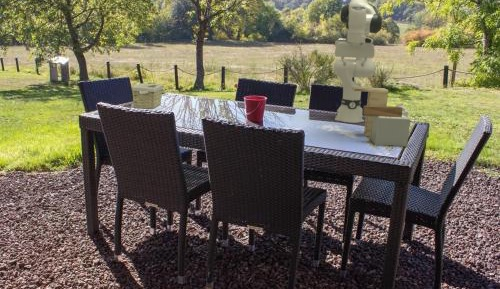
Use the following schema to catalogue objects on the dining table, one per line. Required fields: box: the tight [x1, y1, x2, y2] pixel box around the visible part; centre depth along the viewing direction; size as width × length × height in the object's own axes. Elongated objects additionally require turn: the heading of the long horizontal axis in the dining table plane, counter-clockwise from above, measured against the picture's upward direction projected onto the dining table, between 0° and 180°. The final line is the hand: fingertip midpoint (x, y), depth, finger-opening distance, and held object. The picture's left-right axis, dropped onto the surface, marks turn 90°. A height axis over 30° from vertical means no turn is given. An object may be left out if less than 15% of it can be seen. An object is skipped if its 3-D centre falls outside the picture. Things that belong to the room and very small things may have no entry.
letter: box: [378, 115, 409, 119], centre depth 240 cm, size 11×14×1 cm
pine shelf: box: [352, 86, 389, 138], centre depth 257 cm, size 9×18×26 cm, turn 87°
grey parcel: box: [370, 116, 411, 147], centre depth 242 cm, size 12×16×14 cm
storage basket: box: [131, 82, 163, 109], centre depth 322 cm, size 24×16×15 cm
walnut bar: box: [362, 105, 403, 117], centre depth 240 cm, size 4×19×4 cm, turn 86°
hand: (353, 66), depth 244 cm, fingers open, 8 cm apart
